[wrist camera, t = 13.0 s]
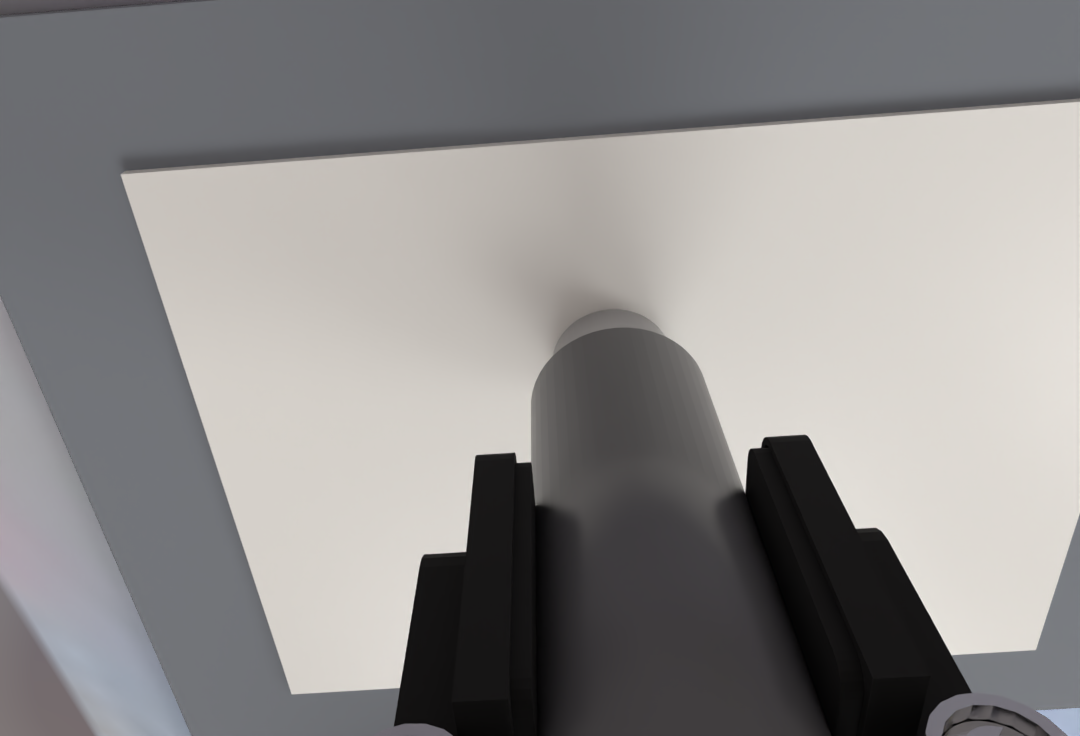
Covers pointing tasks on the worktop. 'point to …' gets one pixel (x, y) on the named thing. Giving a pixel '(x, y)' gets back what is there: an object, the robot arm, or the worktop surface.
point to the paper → (671, 304)
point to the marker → (651, 553)
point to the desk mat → (386, 125)
